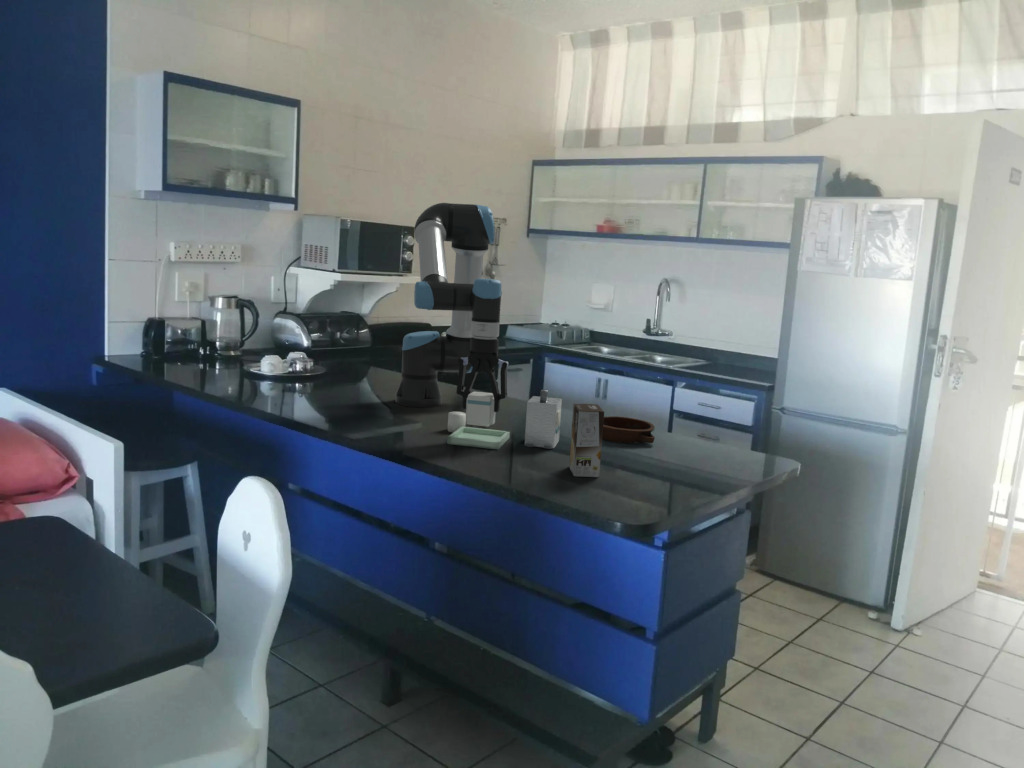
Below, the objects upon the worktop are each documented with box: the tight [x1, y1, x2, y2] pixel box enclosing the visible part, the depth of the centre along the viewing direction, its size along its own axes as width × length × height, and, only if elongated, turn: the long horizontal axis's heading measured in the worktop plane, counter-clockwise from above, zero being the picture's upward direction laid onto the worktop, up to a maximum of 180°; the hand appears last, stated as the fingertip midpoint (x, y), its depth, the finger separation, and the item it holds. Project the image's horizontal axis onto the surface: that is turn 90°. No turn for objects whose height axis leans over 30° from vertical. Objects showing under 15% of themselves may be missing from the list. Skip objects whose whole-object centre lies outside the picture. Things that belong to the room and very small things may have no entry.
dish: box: [602, 415, 656, 444], centre depth 238 cm, size 18×22×5 cm
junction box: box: [524, 389, 563, 450], centre depth 226 cm, size 8×11×15 cm
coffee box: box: [568, 403, 605, 478], centre depth 199 cm, size 9×6×16 cm
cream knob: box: [447, 411, 467, 433], centre depth 235 cm, size 5×5×5 cm
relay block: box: [466, 391, 494, 427], centre depth 224 cm, size 6×6×8 cm
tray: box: [446, 426, 511, 450], centre depth 225 cm, size 14×14×2 cm
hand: (480, 421), depth 224 cm, fingers closed on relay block, 6 cm apart
